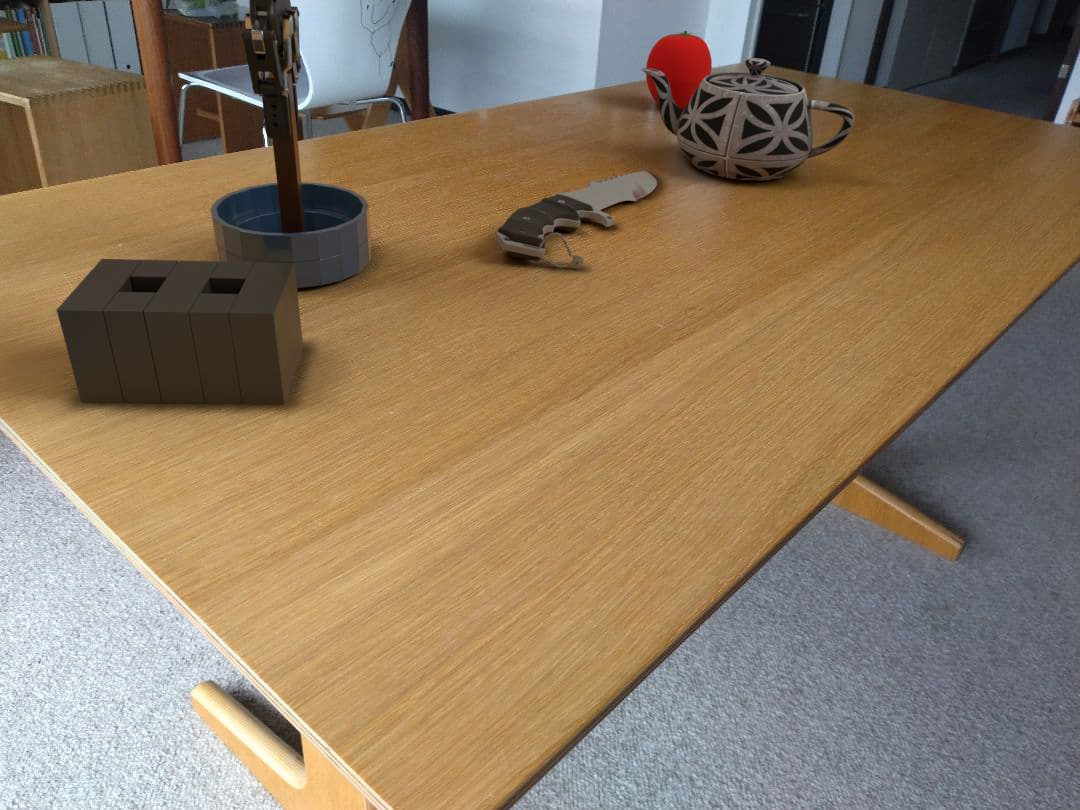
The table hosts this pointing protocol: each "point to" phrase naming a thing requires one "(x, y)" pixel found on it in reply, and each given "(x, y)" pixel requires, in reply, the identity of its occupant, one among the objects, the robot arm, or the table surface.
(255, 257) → the bowl
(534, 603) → the table surface
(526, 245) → the knife
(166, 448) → the table surface
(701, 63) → the tomato
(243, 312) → the holder
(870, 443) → the table surface
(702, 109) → the teapot
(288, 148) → the stick
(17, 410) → the table surface
